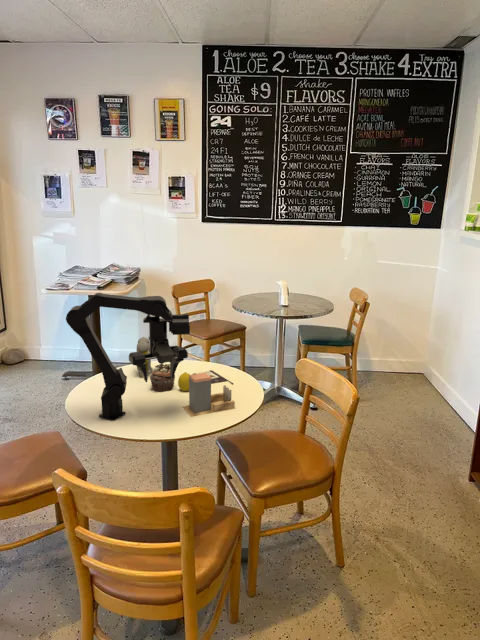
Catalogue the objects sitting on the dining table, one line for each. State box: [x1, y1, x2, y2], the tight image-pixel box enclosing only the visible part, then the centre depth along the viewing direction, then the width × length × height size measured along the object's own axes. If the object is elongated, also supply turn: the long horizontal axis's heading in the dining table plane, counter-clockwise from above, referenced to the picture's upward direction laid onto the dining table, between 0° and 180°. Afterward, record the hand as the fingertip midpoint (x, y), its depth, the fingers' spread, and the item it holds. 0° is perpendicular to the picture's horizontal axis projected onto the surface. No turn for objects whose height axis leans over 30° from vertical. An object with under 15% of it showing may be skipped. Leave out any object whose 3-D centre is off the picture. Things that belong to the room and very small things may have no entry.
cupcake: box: [149, 363, 176, 393], centre depth 180 cm, size 10×10×10 cm
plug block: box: [188, 372, 212, 413], centre depth 160 cm, size 6×5×12 cm
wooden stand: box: [181, 384, 236, 418], centre depth 162 cm, size 16×9×7 cm, turn 116°
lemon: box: [177, 372, 191, 392], centre depth 177 cm, size 6×6×8 cm
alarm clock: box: [136, 336, 154, 378], centre depth 195 cm, size 12×7×15 cm, turn 9°
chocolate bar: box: [193, 369, 234, 386], centre depth 191 cm, size 9×1×18 cm
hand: (159, 379), depth 157 cm, fingers open, 9 cm apart
